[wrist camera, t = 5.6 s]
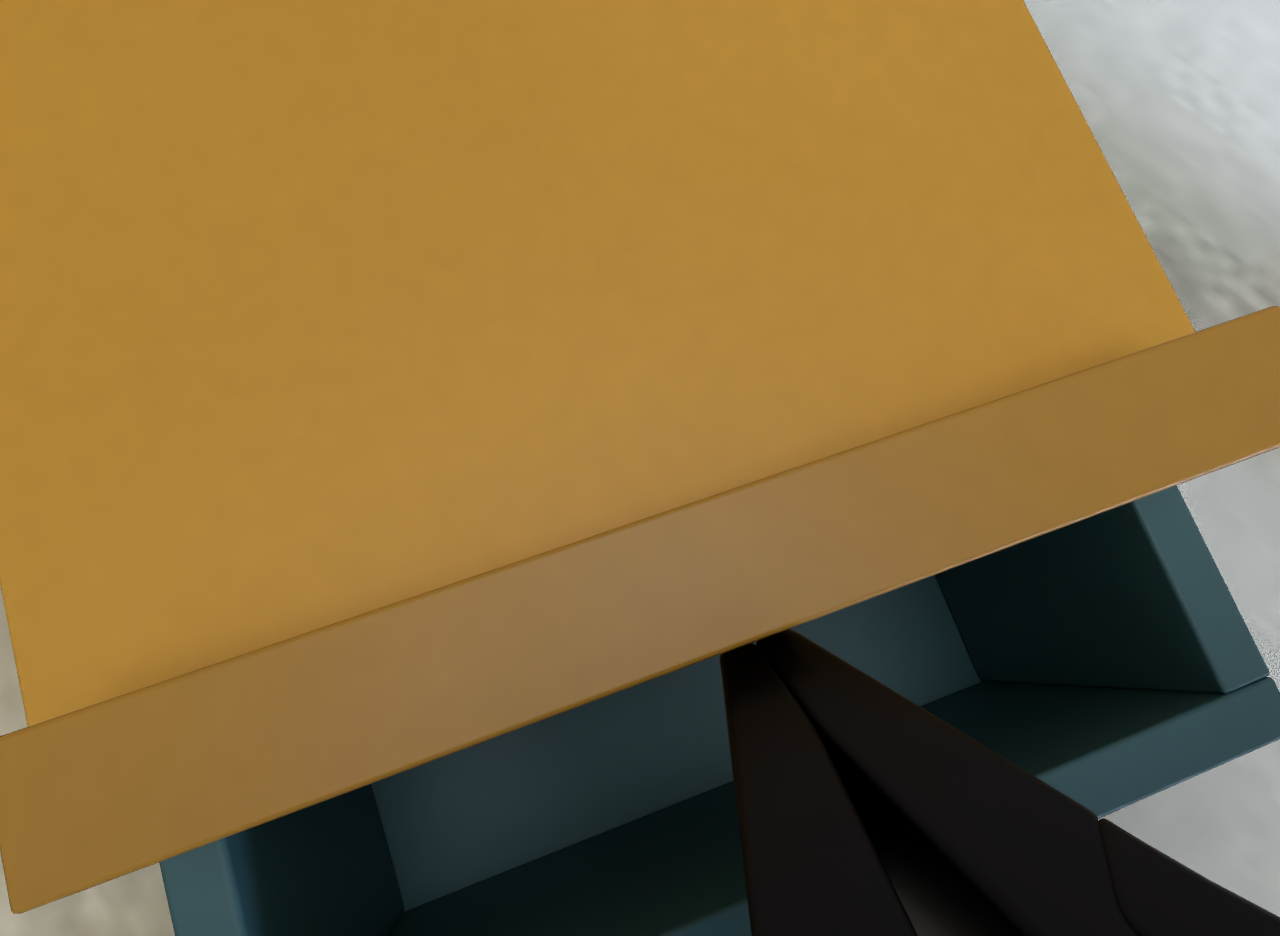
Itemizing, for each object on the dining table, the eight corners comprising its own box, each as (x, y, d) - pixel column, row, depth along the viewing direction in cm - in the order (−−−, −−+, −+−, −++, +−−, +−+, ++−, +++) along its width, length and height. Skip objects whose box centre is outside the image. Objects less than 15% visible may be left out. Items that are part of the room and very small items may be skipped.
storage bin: (1012, 703, 19) (1301, 732, 11) (384, 957, 16) (228, 1202, 9) (807, 227, 21) (933, -8, 14) (236, 393, 19) (17, 221, 11)
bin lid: (1201, 463, 12) (1403, 401, 9) (108, 865, 10) (-94, 956, 7) (850, -233, 15) (920, -457, 12) (-79, -51, 12) (-284, -272, 9)
